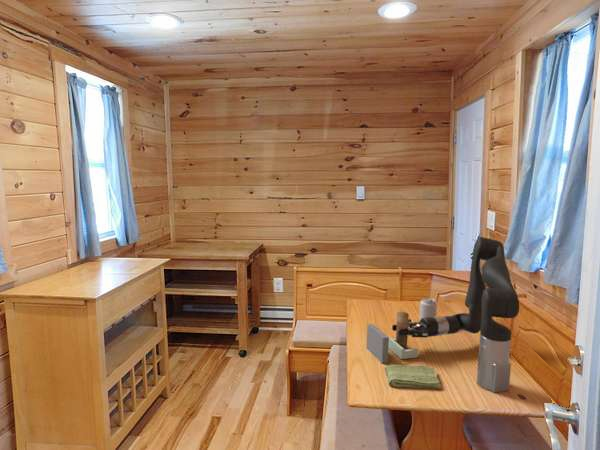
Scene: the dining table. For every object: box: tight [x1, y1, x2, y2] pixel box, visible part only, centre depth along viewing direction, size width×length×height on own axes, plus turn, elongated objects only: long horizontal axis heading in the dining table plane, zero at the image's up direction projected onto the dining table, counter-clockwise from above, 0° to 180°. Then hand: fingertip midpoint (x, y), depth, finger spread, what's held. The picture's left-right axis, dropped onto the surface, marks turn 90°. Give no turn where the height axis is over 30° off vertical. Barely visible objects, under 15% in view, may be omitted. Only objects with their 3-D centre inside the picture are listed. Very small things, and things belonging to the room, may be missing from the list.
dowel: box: [395, 311, 410, 350], centre depth 163 cm, size 4×4×14 cm
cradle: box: [388, 336, 419, 360], centre depth 163 cm, size 12×7×4 cm, turn 15°
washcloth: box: [384, 364, 442, 390], centre depth 143 cm, size 13×18×3 cm
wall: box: [366, 323, 390, 364], centre depth 160 cm, size 14×2×10 cm, turn 15°
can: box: [418, 297, 438, 322], centre depth 194 cm, size 8×8×12 cm
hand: (395, 330), depth 162 cm, fingers closed on dowel, 4 cm apart
